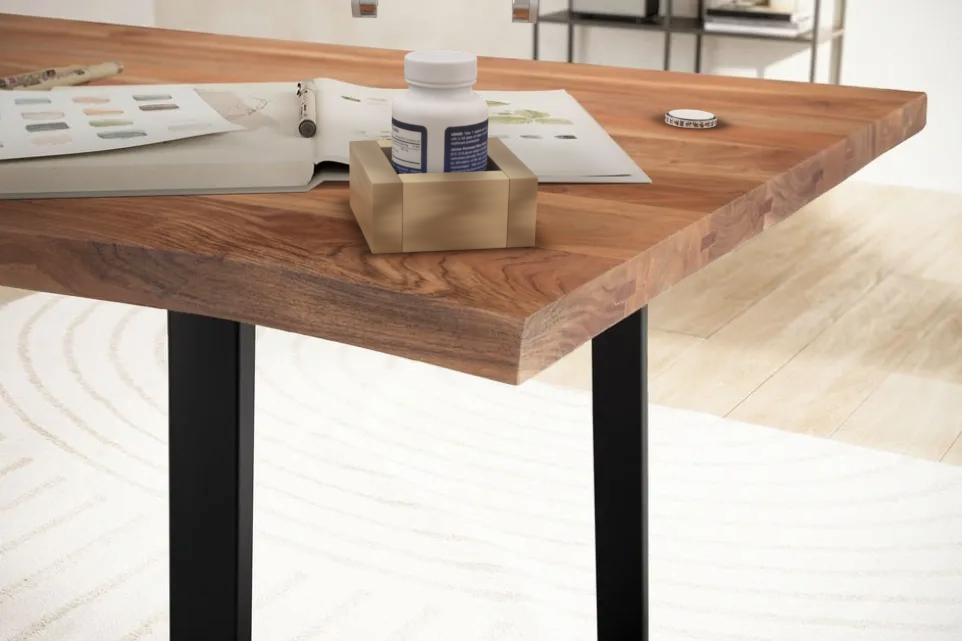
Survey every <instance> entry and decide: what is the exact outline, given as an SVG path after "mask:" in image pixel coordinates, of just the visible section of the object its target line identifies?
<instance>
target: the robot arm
mask: <svg viewBox="0 0 962 641" xmlns="http://www.w3.org/2000/svg"><path fill="white" fill-rule="evenodd" d="M539 2H540V0H511V23H514V24H537V21H538V10H539ZM378 7H379V0H350V8H351V17H352V18H354V19H378V15H379V14H378V13H379V12H378V11H379V10H378Z"/></svg>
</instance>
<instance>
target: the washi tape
mask: <svg viewBox="0 0 962 641" xmlns="http://www.w3.org/2000/svg"><path fill="white" fill-rule="evenodd" d="M664 116H665V118H664V122H665V123H666V124H668V125H671V126H674V127H678V128H679V127H680V128H686V129H709V128H713V127H715V126H717V121H718V116H717V115H716V114H714V113H712V112H708V111H705V110H699V109H689V108H688V109H687V108H685V109H682V108H681V109H672V110H669V111H666V112H665V115H664Z"/></svg>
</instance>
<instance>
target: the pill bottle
mask: <svg viewBox="0 0 962 641" xmlns="http://www.w3.org/2000/svg"><path fill="white" fill-rule="evenodd" d="M403 62H404V66H403V67H404V68H403V76H404V82H405V83H407V85H408V89H407V90H405V91H403V92H400V93H399V94H398V95H397V96H396V97H395V99H394V100H393V102H392V104H391V140H392V167H393V168H394V170H395V172H396V173H397V175H398V174H414V173H446V172H478V171H487V146H488V137H489V106H488V102H487V101H486V99H485V98H484V97H483V96H481V95H480V94H479V93H477V92H475V91H474V90H473V85H475V84H477V81H478V80H477V78H478V56H477V55H475V53H471V52H468V51H464V50H456V49H455V50H454V49H421V50H414V51H410V52H408V53H406V54H404V60H403Z"/></svg>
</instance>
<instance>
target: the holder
mask: <svg viewBox="0 0 962 641" xmlns="http://www.w3.org/2000/svg"><path fill="white" fill-rule="evenodd" d="M348 144H349V145H348V146H349V147H348V149H349V150H348V151H349V152H348V153H349V154H348V156H349V159H348V160H349V164H348V165H349V206H350V209H351V210H352V213H353V216H354V217H355V219H356V221H357V223H358V226H359V228H360V230H361V232H362V234H363V236H364V237H363V238H364V239H365V241H366V243H367V245H368V248H369V249H370V252H371V254H393V253H394V254H395V253H415V252H437V251H438V252H439V251H458V250H459V251H461V250H480V249H481V250H482V249H502V248H504V249H505V248H525V247H526V248H527V247H535V246H536V245H535V244H536V242H535V241H536V225H537V207H538V206H537V205H538V190H539V188H538V187H539V177H538V175H536V174H535V173H534V172H533V171H532V170H531V169H530V168H529V167H528V166H527V165H526V164H525V163H524V162H523V161H522V160H521V159H520V158H519V157H518V156H517V155H516V154H515V153H514V152H513V150H511V149H510V148H509V147H508V146H507V145H506V144H505V143H504V142H503V141H502V140H501V139H500V138H499V137H497V136H495V137H494V136H493V137H492V136H491V137H489V136H488V146H487V171H478V172H446V173H414V174H398V175H397V173H396V172H395V170H394V168H393V167H392V139H377V140H373V139H372V140H350V141H349V143H348Z"/></svg>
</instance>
